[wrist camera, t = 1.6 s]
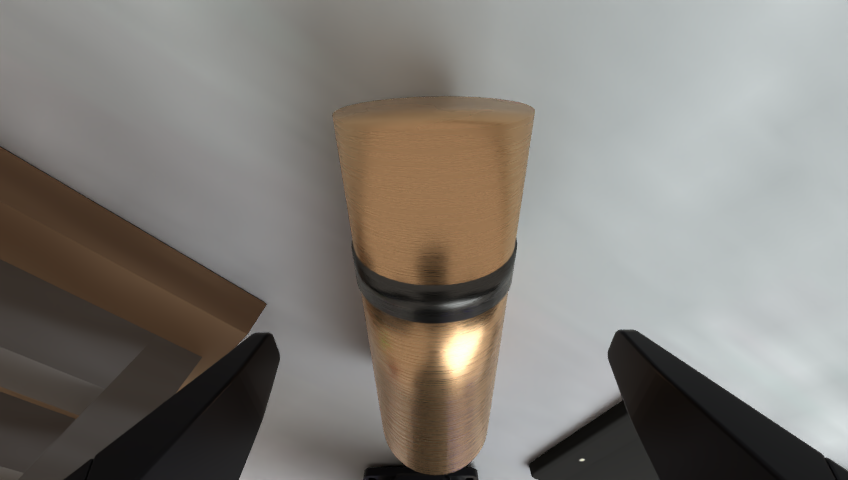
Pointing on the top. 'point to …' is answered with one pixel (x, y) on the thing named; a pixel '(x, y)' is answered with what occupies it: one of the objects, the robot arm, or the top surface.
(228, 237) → the top surface
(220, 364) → the robot arm
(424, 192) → the copper tube
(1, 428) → the collar stand
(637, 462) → the cell phone
